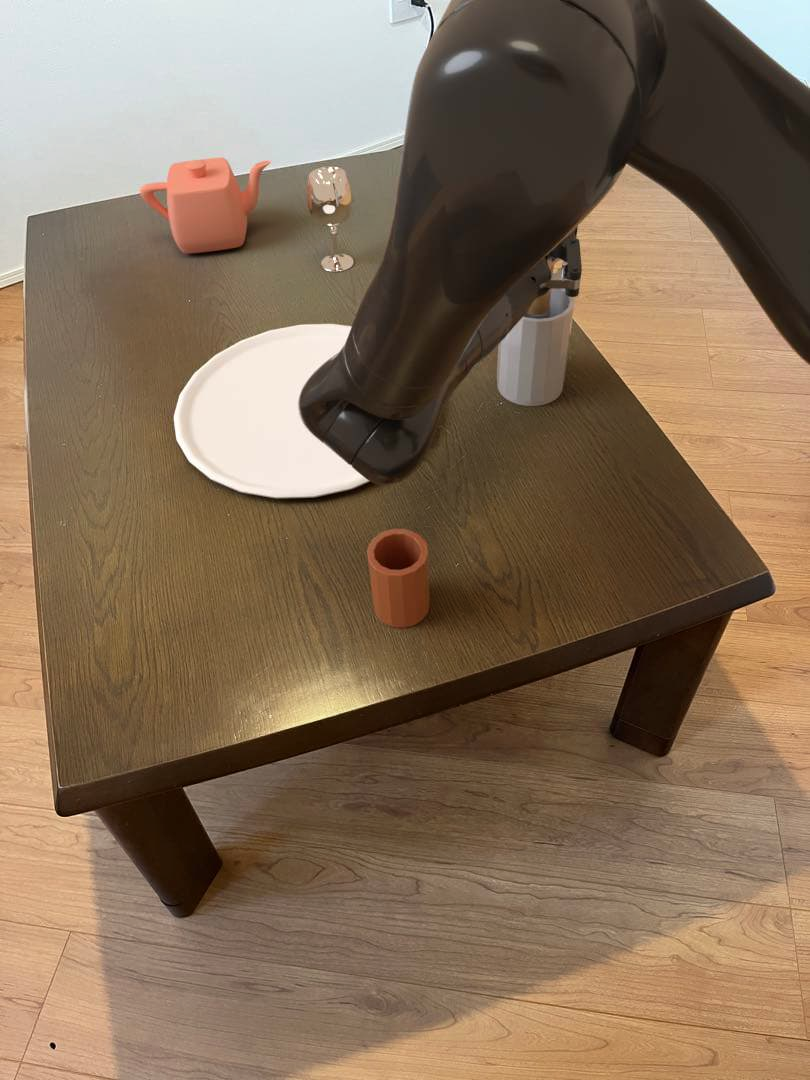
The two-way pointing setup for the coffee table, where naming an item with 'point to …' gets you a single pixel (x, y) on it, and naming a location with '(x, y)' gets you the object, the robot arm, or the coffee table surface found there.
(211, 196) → the teapot
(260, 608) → the coffee table surface
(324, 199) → the wineglass
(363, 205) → the coffee table surface
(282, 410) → the plate
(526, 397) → the grey faceted cup
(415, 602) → the holder
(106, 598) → the coffee table surface
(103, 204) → the coffee table surface
